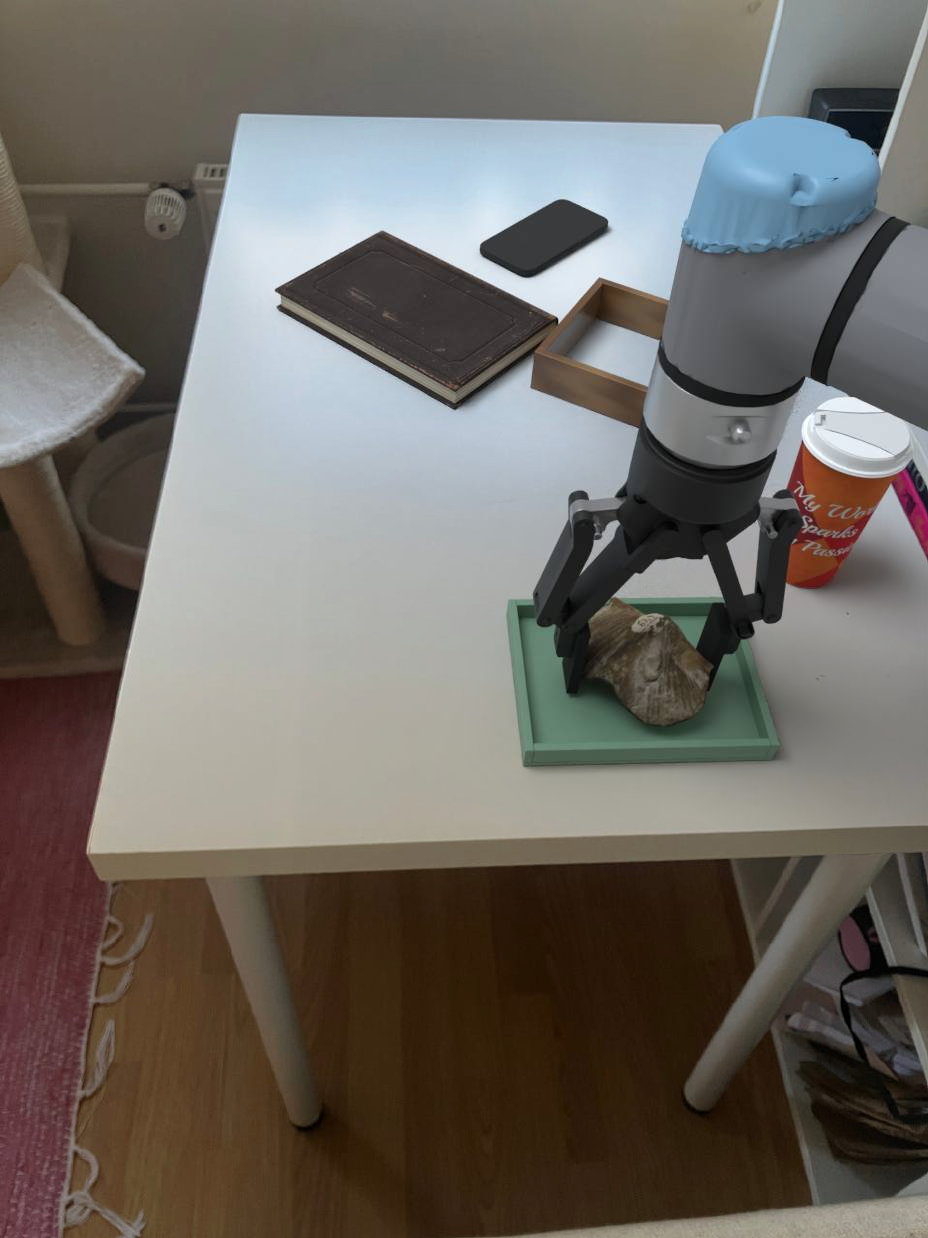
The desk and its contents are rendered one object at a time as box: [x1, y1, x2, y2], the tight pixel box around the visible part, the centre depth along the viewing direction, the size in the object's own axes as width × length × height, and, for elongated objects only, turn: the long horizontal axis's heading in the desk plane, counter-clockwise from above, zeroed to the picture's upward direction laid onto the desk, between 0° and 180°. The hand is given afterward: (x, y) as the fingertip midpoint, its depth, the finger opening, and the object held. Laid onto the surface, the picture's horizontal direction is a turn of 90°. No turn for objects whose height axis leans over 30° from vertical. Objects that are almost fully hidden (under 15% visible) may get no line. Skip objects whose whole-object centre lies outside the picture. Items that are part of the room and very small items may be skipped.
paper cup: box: [785, 396, 915, 589], centre depth 75 cm, size 8×8×14 cm
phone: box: [479, 198, 609, 277], centre depth 110 cm, size 7×1×15 cm
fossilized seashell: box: [581, 596, 714, 727], centre depth 70 cm, size 8×7×10 cm
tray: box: [505, 596, 781, 767], centre depth 71 cm, size 17×13×2 cm
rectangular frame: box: [529, 276, 669, 428], centre depth 94 cm, size 20×15×4 cm
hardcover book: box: [274, 229, 560, 410], centre depth 99 cm, size 16×23×2 cm
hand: (635, 676), depth 72 cm, fingers closed on fossilized seashell, 9 cm apart
